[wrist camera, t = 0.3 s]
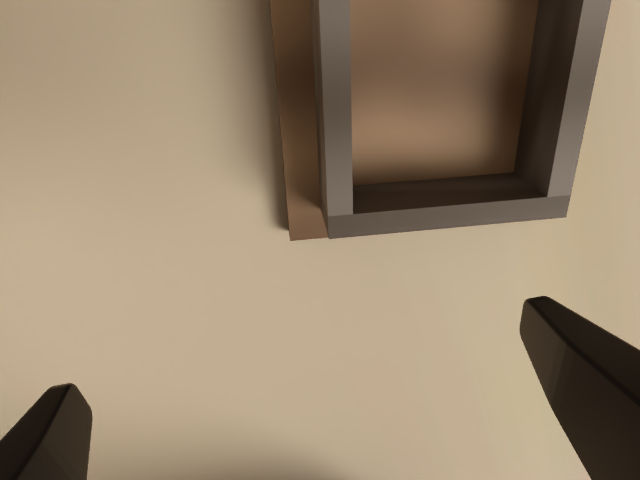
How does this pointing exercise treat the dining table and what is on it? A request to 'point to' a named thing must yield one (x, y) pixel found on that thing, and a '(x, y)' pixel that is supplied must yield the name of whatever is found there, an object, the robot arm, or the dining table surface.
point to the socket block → (431, 110)
